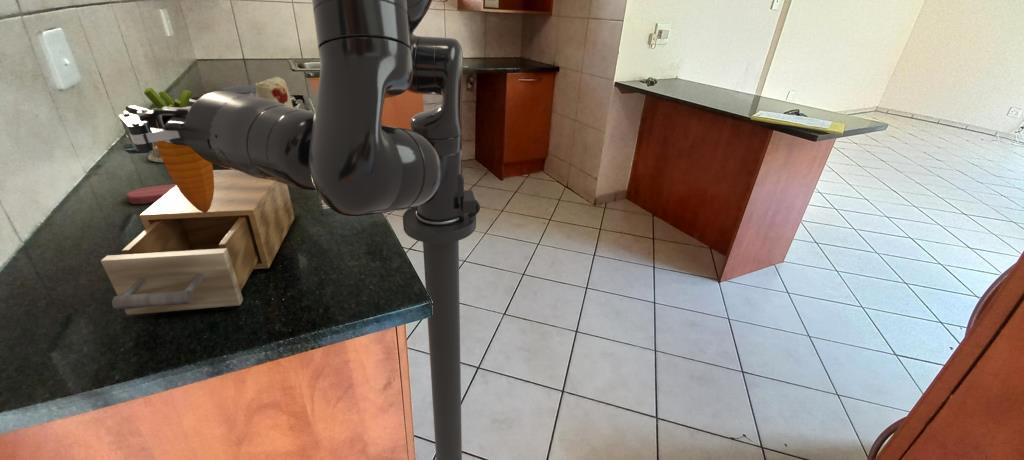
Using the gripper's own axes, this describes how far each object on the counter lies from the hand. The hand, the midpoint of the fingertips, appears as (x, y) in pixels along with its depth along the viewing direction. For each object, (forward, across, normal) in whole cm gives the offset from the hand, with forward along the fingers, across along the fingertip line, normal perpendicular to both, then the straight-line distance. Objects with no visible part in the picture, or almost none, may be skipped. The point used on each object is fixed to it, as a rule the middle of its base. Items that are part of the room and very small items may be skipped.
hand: (159, 111), depth 48 cm
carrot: (-3, 0, +12) cm, 12 cm away
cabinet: (+8, -8, +24) cm, 26 cm away
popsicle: (+35, -12, +24) cm, 44 cm away
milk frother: (+53, -43, +23) cm, 72 cm away
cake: (+59, -24, +23) cm, 68 cm away
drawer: (0, +2, +23) cm, 23 cm away
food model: (+31, -34, +24) cm, 52 cm away
